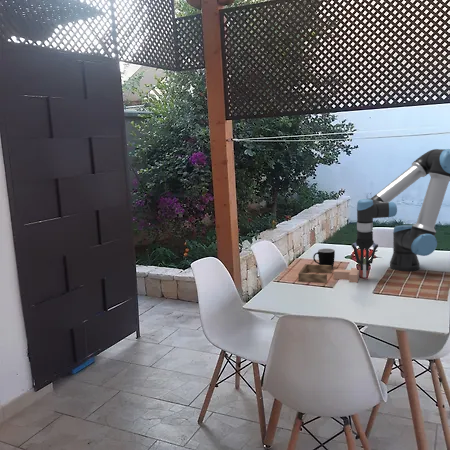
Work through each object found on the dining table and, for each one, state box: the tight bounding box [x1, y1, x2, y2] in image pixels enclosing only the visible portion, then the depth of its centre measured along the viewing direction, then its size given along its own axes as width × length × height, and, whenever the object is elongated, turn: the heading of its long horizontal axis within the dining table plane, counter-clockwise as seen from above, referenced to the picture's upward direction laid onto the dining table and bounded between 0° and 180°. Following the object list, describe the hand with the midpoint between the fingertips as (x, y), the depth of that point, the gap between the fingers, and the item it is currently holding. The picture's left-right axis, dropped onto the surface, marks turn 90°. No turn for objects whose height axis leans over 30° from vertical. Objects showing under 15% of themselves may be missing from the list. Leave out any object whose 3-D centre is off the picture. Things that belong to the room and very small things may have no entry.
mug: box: [312, 248, 336, 269], centre depth 259 cm, size 12×9×10 cm
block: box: [333, 267, 360, 284], centre depth 239 cm, size 12×12×4 cm
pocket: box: [297, 263, 333, 284], centre depth 244 cm, size 14×18×4 cm
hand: (364, 276), depth 235 cm, fingers closed
